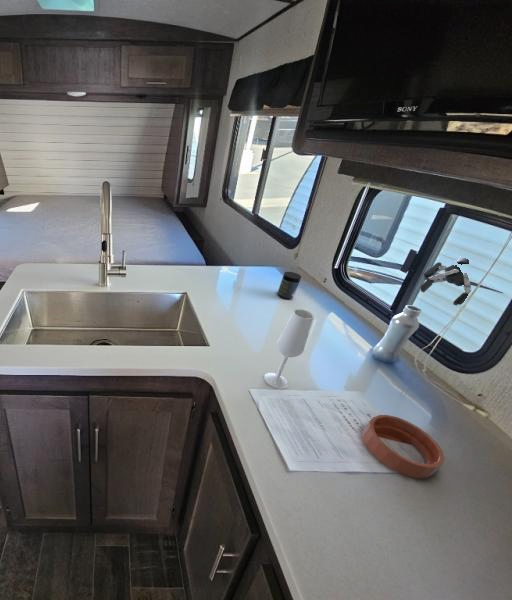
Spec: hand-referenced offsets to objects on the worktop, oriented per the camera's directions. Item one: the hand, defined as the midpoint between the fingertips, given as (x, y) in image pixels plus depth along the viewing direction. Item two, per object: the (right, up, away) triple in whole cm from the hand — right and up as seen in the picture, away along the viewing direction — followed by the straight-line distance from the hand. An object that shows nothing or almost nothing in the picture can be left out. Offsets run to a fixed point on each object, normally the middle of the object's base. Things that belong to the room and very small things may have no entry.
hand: (437, 297), depth 100 cm
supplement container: (-25, +1, +42) cm, 49 cm away
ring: (-34, -38, -23) cm, 56 cm away
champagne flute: (-52, -25, -4) cm, 58 cm away
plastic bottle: (-11, -21, +7) cm, 25 cm away
